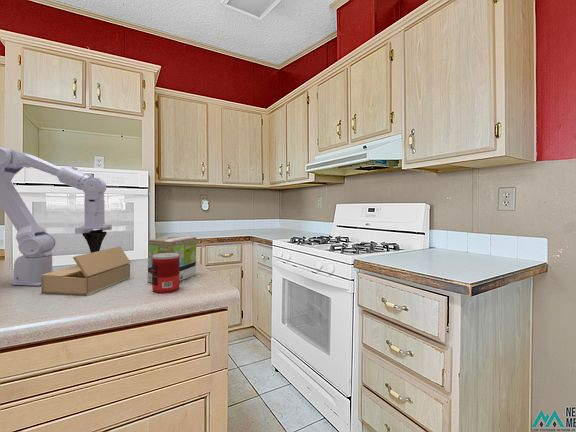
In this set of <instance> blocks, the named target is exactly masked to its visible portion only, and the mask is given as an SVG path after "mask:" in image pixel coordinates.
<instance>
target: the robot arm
mask: <svg viewBox="0 0 576 432" xmlns="http://www.w3.org/2000/svg"><path fill="white" fill-rule="evenodd" d="M24 168H26V169H27V168H28V169H29V168H34V169H36V170H39V171H41V172H45V173H47V174H50V175H52V176H55V177H57V179H58V181H59V182H60V183H62V184H64V185H67V186H69V187H72V188H75V189H77V190H80V191H82V192H84V202H83V203H84V225H83V226H77V227H74V234H76V235H81V234H82V237H83V238H84V239H85V241H86V243H87V246H88V247H89V251H90V252H89V253H93V252H97V251H101V246H102V243H103V241H104V239H105V237H106V236H107V231H112V230H113V224H108V223H107V224H105V223H106V221H105V216H106V214H105V208H106V207H105V192H106V191H107V184H106V182H105V181H104V180H102V179H101V178H99V177H93V174H91V173H85V172H83V171H80V170H78V167H76V166H71V167H70V166H64V167H60V166H58V165H56V164H54V163H51V162H49V161H46V160H44V159H42V158H40V157H38V156H35V155H33V154H29V153H26V152H21V151H18V150H16V149H15V150H13V149H9V148H5V146H4V147H3V146H0V206H1V208H2V210H3V211H4V212H5V214H6V216H7V217H8V219H9V221H10V222H11V224H12V225H13V227H14V228H15V231H17V233H16V236H15V239H16V241H17V243H18V251H19V252H20V254H22V255H20V256H18V257H17V258H16V259H15V260H14V263H13V282H11V285H14V286H30V287H31V286H33V287H36V286H37V287H38V286H41V275H42V274H46V273H50V272H53V251H52V250H53V249H54V248H55V247H56V240H55V237H54V236H52V235H51V234H49V233H48V232H47V230H46V229H45V228H43V227H42V226H41V225H39V224H38V223H37V221H36V219H35V218H34V216H33V215H32V213H31V211H30V210H29V208H28V207H27V205H26V203H25V202H24V200H23V198H22V197H21V196H20V194H19V192H18V190H17V189H16V187H15V185H14V184H13V182H12V180H13V178H14V177H15V176H16V175H17V174H18V173H19V172H21V170H23V169H24Z"/></svg>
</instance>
